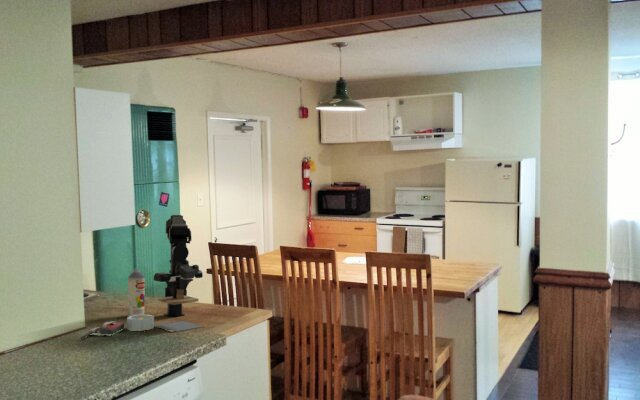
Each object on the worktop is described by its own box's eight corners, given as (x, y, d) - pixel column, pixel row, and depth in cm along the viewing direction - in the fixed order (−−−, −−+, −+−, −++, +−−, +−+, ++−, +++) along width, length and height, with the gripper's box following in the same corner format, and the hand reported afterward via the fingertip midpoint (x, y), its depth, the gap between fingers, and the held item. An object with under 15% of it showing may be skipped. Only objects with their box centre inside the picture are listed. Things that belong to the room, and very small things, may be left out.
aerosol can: (136, 318, 235) (137, 270, 235) (123, 316, 238) (124, 269, 238) (147, 315, 241) (148, 268, 241) (135, 314, 244) (136, 267, 244)
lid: (158, 300, 221) (158, 289, 221) (182, 297, 229) (182, 286, 229) (173, 304, 213) (173, 292, 213) (198, 301, 221) (198, 289, 221)
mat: (154, 326, 221) (154, 325, 221) (183, 322, 230) (183, 321, 230) (172, 332, 212) (172, 331, 212) (201, 327, 221) (201, 326, 221)
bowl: (122, 328, 217) (122, 316, 217) (145, 324, 224) (145, 313, 224) (135, 333, 211) (135, 321, 211) (158, 329, 218) (158, 317, 217)
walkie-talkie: (104, 328, 218) (78, 342, 198) (104, 317, 218) (78, 329, 198) (126, 329, 217) (102, 342, 198) (126, 318, 217) (102, 330, 197)
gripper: (168, 261, 209) (168, 303, 209) (211, 257, 222) (210, 297, 222) (153, 258, 216) (152, 299, 217) (194, 255, 230) (194, 293, 230)
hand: (178, 297), depth 221 cm, fingers closed on lid, 3 cm apart
